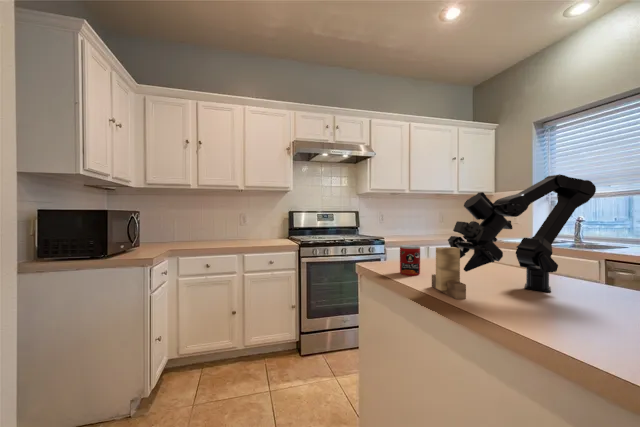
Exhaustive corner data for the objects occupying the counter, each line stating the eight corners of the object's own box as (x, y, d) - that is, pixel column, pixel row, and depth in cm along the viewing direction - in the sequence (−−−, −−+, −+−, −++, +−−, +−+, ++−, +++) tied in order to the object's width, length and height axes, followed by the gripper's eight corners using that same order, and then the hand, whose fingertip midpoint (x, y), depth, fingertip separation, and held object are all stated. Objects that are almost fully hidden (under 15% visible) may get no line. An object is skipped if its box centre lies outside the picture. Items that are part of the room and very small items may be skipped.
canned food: (399, 275, 110) (399, 246, 110) (400, 271, 117) (400, 244, 117) (420, 276, 107) (420, 247, 107) (419, 272, 115) (419, 245, 115)
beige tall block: (453, 287, 88) (454, 247, 88) (459, 290, 85) (459, 248, 85) (435, 288, 88) (435, 247, 87) (441, 290, 85) (441, 248, 84)
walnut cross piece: (431, 286, 93) (431, 274, 93) (440, 286, 93) (440, 274, 93) (456, 299, 80) (456, 284, 80) (465, 298, 80) (466, 284, 80)
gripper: (452, 212, 96) (422, 245, 95) (492, 212, 78) (455, 254, 77) (474, 234, 97) (444, 268, 96) (519, 239, 79) (483, 281, 78)
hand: (455, 267), depth 87 cm, fingers open, 9 cm apart
